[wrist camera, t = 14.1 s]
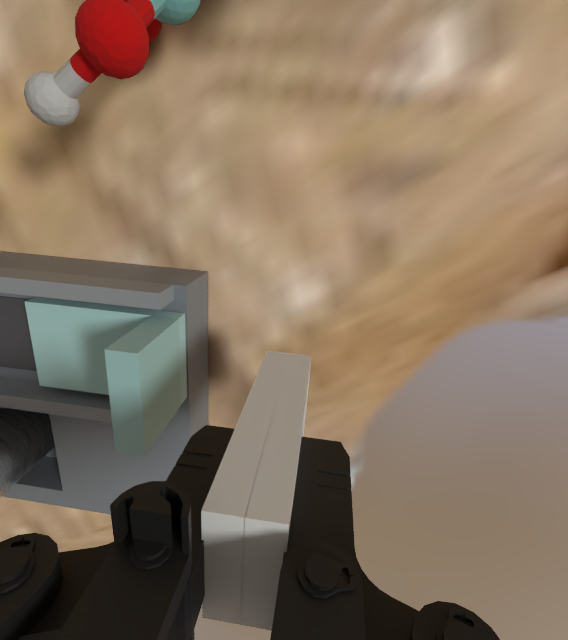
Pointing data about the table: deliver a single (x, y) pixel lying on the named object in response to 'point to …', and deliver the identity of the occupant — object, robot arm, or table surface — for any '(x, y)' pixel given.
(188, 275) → the housing
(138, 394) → the lid
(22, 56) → the table surface
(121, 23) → the molecular model
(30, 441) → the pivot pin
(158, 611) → the robot arm
